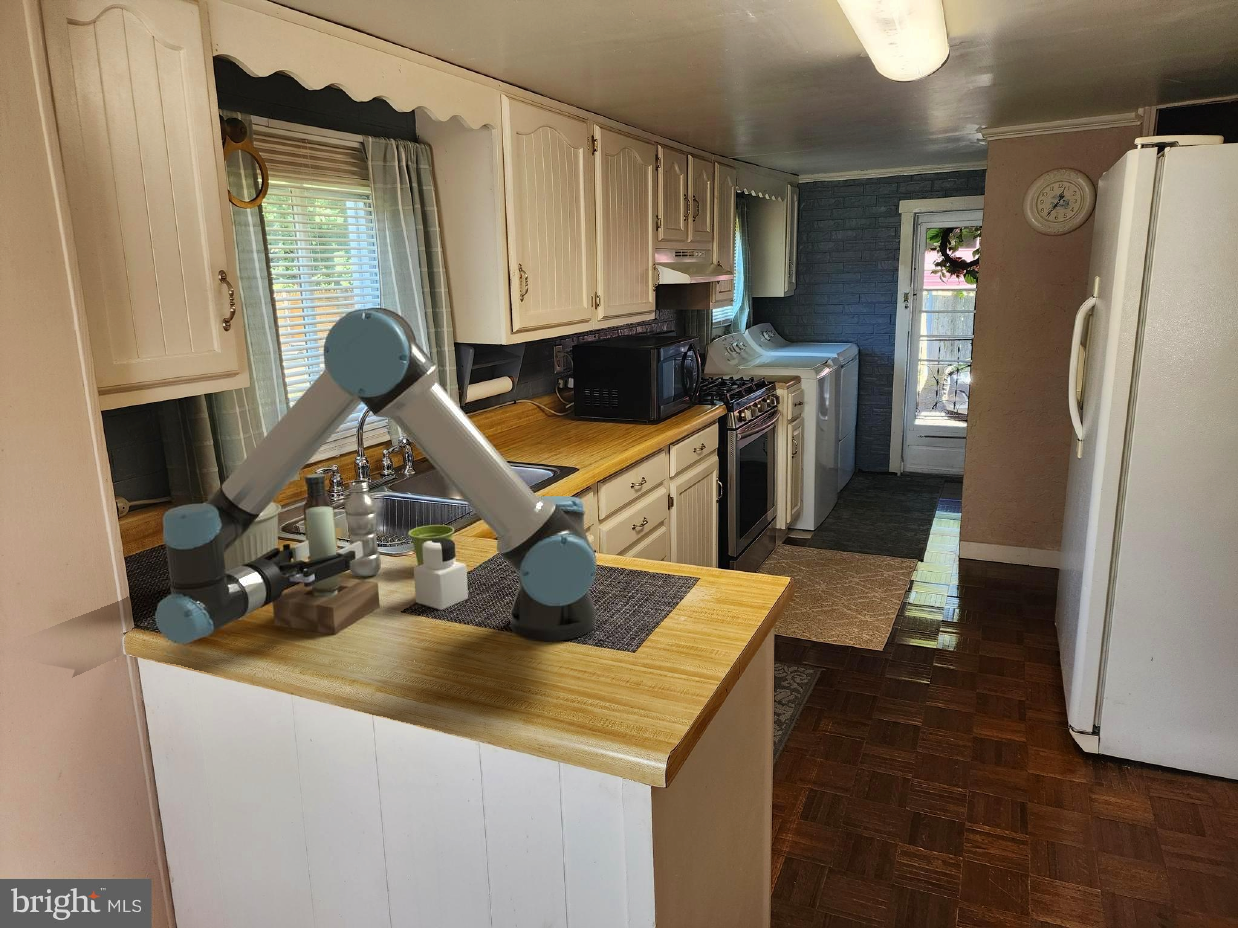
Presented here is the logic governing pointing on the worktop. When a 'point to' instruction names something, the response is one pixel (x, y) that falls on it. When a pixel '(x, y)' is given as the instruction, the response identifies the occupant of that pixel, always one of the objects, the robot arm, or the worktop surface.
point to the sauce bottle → (317, 498)
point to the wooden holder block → (326, 606)
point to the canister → (255, 539)
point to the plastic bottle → (363, 528)
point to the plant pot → (428, 537)
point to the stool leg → (322, 545)
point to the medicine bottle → (440, 575)
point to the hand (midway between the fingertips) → (339, 546)
